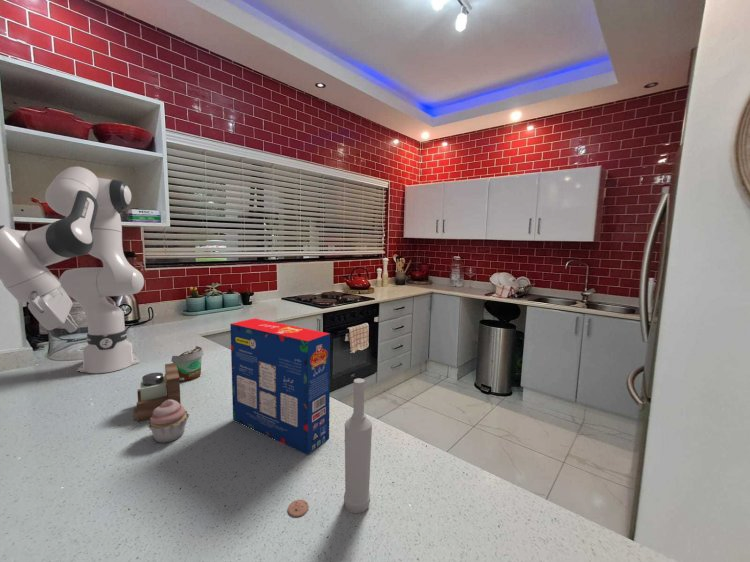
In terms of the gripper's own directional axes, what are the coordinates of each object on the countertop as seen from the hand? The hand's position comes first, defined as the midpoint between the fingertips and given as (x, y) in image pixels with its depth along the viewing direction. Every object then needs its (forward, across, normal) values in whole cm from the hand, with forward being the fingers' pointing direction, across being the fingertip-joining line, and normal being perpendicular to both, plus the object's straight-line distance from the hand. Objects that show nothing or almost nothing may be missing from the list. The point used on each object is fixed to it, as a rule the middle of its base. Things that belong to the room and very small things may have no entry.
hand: (74, 330), depth 91 cm
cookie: (+33, -68, -23) cm, 80 cm away
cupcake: (+29, -28, -6) cm, 41 cm away
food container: (+37, +10, -14) cm, 41 cm away
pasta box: (+39, -41, -28) cm, 63 cm away
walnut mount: (+29, -10, -4) cm, 31 cm away
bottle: (+37, -74, -32) cm, 89 cm away
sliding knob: (+29, -10, -4) cm, 31 cm away
